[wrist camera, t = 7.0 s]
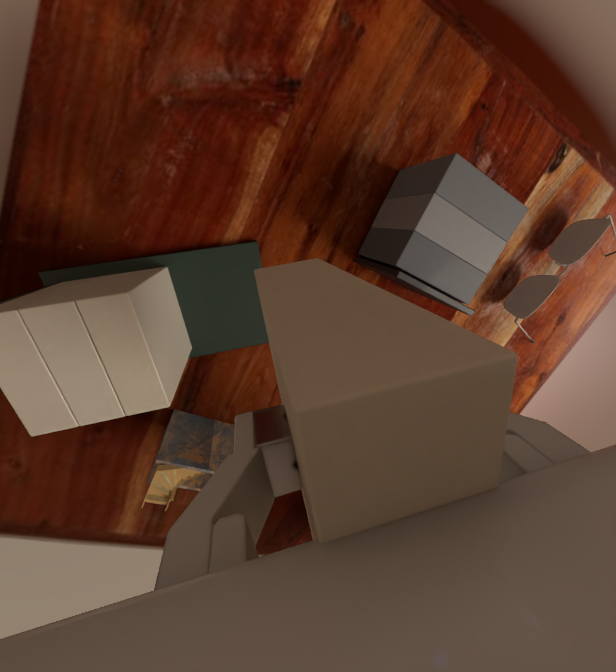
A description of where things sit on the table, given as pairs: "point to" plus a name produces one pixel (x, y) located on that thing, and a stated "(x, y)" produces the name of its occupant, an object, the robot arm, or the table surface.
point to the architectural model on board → (188, 455)
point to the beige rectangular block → (381, 398)
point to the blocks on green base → (123, 333)
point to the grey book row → (441, 230)
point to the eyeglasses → (564, 252)
